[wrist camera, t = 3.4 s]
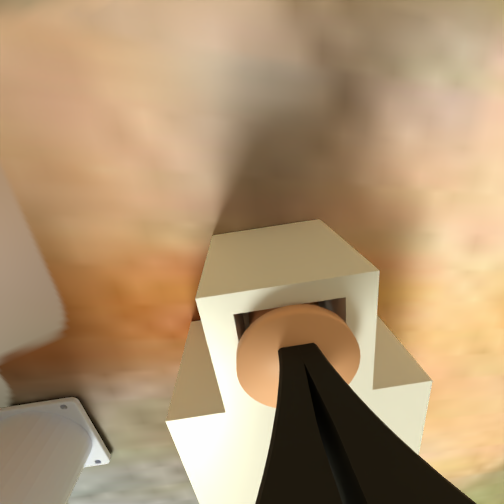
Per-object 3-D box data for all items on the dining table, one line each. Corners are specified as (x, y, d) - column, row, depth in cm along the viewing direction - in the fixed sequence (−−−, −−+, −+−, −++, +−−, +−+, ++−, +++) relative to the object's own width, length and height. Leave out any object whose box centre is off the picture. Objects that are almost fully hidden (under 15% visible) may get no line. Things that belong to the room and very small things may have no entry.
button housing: (228, 452, 24) (225, 568, 17) (168, 242, 15) (120, 310, 9) (356, 432, 24) (402, 541, 17) (363, 212, 15) (455, 259, 9)
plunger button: (243, 351, 14) (246, 417, 10) (228, 275, 12) (225, 325, 9) (329, 338, 14) (358, 399, 10) (326, 260, 12) (362, 305, 9)
